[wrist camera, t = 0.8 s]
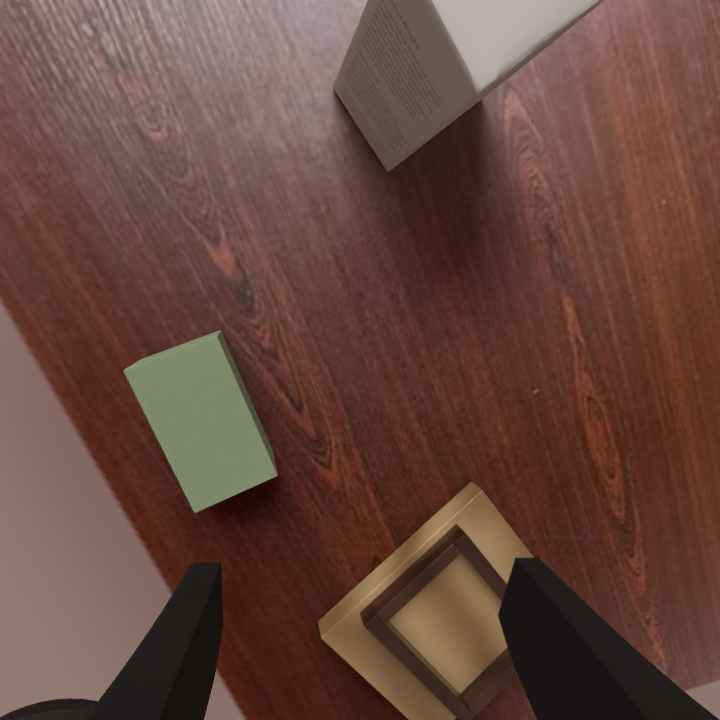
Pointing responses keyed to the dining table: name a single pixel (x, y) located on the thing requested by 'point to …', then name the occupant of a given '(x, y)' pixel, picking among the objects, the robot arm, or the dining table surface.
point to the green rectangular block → (203, 419)
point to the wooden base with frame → (434, 614)
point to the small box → (439, 62)
